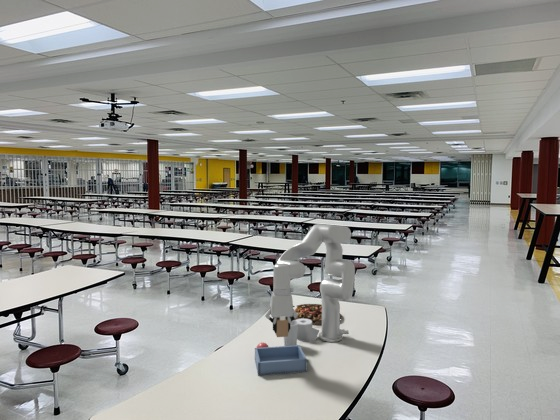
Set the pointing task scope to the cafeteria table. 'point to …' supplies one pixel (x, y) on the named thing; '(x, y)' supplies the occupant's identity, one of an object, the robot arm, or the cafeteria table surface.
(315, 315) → the food dish
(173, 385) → the cafeteria table surface
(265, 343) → the red glossy sphere
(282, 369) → the tub
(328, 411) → the cafeteria table surface
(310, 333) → the toilet tissue
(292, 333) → the cup
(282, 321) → the brown and white block
